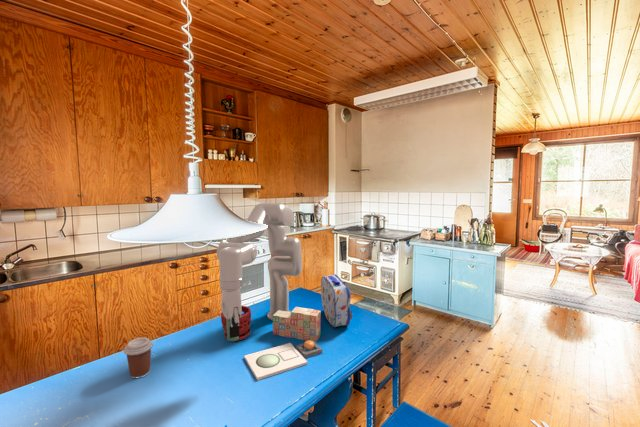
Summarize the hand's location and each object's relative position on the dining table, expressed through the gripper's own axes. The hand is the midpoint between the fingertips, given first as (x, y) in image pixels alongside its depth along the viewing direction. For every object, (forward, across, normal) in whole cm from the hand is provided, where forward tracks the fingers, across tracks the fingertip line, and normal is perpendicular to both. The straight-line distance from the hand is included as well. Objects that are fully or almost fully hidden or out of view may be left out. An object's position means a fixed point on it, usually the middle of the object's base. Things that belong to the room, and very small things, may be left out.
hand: (232, 333), depth 109 cm
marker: (+2, 0, 0) cm, 2 cm away
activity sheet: (+17, -3, +17) cm, 24 cm away
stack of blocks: (+17, -17, +33) cm, 41 cm away
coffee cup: (+17, -20, -29) cm, 39 cm away
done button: (+16, -3, +32) cm, 36 cm away
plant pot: (+17, -30, +9) cm, 36 cm away
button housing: (+17, -3, +32) cm, 36 cm away
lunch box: (+17, -22, +57) cm, 64 cm away
